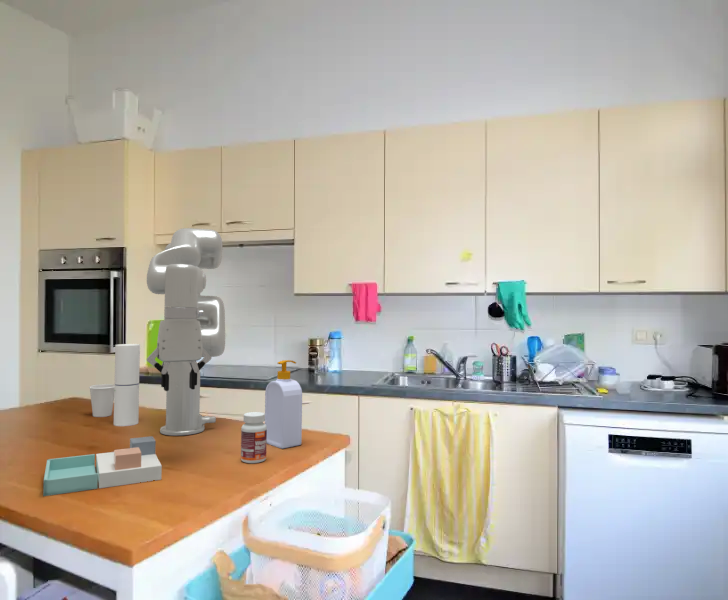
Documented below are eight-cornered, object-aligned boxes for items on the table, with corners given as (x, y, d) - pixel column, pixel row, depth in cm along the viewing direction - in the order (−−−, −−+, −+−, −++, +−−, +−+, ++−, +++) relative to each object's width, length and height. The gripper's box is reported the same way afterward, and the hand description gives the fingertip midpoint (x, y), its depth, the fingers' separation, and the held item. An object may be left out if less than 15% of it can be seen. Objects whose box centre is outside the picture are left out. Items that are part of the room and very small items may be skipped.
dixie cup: (108, 418, 171) (108, 387, 171) (83, 417, 171) (84, 387, 171) (120, 413, 179) (121, 384, 179) (96, 412, 179) (97, 383, 180)
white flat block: (151, 460, 125) (151, 447, 125) (161, 479, 111) (161, 465, 111) (96, 466, 119) (96, 453, 119) (99, 488, 105) (99, 473, 105)
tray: (94, 467, 119) (94, 454, 119) (97, 488, 105) (97, 473, 105) (46, 472, 114) (47, 459, 114) (43, 496, 100) (43, 480, 101)
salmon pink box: (138, 460, 114) (138, 447, 114) (141, 466, 110) (141, 452, 110) (113, 463, 112) (113, 449, 112) (115, 470, 108) (115, 455, 108)
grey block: (152, 448, 124) (152, 436, 124) (155, 453, 120) (155, 441, 120) (129, 451, 122) (130, 438, 122) (131, 456, 117) (132, 443, 117)
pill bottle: (258, 465, 122) (259, 417, 123) (235, 462, 124) (236, 415, 124) (270, 457, 128) (271, 412, 129) (248, 455, 130) (249, 410, 130)
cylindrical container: (122, 427, 158) (124, 345, 159) (108, 424, 162) (110, 344, 163) (143, 423, 164) (144, 344, 165) (129, 420, 168) (131, 343, 169)
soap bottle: (303, 444, 141) (305, 361, 141) (282, 449, 136) (284, 362, 137) (284, 438, 147) (286, 358, 148) (264, 442, 143) (265, 360, 143)
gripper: (212, 314, 133) (211, 385, 132) (140, 314, 124) (139, 389, 124) (220, 315, 126) (218, 389, 126) (144, 315, 118) (142, 394, 118)
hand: (179, 388), depth 125 cm, fingers open, 5 cm apart
